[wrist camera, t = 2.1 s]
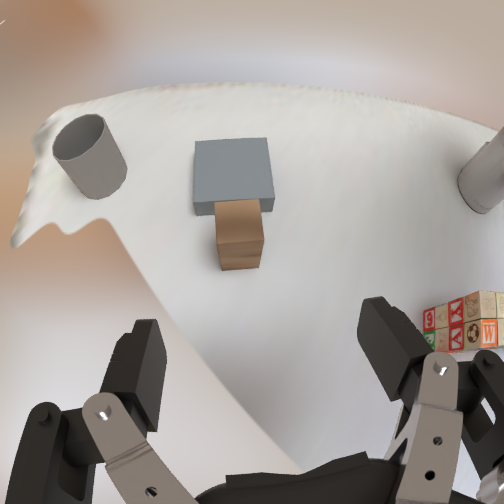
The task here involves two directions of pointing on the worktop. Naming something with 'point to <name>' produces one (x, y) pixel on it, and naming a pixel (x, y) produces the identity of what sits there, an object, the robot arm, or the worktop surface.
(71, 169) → the cup
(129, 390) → the robot arm
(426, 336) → the stack of blocks
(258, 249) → the walnut block
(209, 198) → the slate block
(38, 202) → the worktop surface
